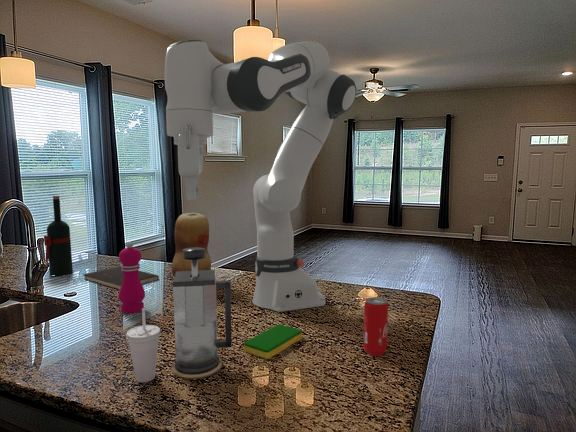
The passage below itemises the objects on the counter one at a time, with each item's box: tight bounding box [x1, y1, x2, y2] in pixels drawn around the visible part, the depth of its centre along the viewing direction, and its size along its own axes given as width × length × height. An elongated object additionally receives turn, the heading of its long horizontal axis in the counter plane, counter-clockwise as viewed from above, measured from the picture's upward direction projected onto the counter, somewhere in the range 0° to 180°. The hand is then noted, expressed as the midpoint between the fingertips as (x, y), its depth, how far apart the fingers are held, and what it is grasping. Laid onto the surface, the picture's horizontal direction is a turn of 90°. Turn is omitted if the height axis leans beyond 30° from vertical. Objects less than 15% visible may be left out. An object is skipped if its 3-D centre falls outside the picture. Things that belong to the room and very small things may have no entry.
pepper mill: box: [118, 241, 146, 315], centre depth 120 cm, size 7×7×20 cm
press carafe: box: [171, 269, 233, 380], centre depth 87 cm, size 12×10×20 cm
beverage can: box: [363, 296, 389, 357], centre depth 94 cm, size 5×5×12 cm
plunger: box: [183, 247, 205, 277], centre depth 85 cm, size 6×6×14 cm
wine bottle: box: [43, 195, 74, 277], centre depth 158 cm, size 8×10×30 cm
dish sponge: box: [243, 323, 303, 360], centre depth 99 cm, size 7×14×2 cm, turn 145°
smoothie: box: [125, 307, 162, 383], centre depth 82 cm, size 6×6×14 cm
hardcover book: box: [82, 265, 160, 290], centre depth 153 cm, size 16×23×2 cm
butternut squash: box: [171, 212, 212, 277], centre depth 147 cm, size 14×13×25 cm
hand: (192, 197), depth 83 cm, fingers open, 8 cm apart
